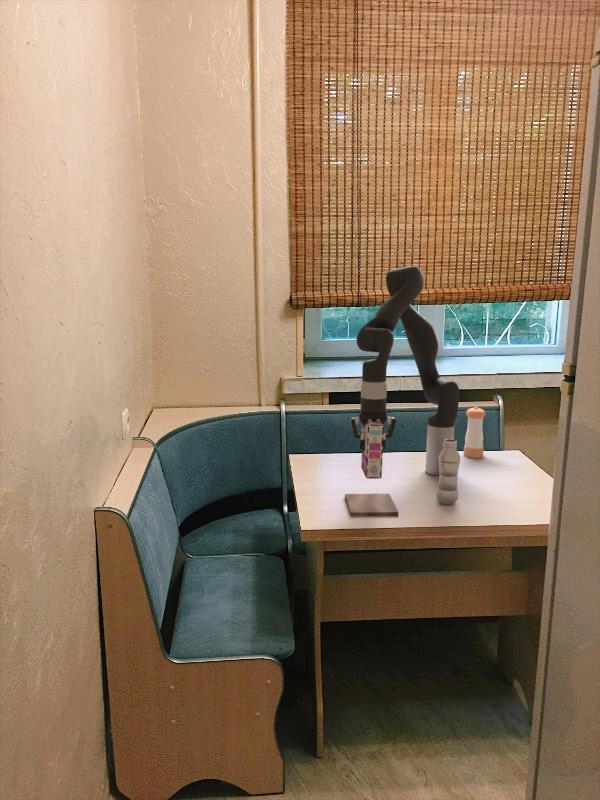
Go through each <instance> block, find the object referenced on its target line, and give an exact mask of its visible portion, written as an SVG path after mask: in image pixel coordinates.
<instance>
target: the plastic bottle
mask: <svg viewBox="0 0 600 800" xmlns="http://www.w3.org/2000/svg"><path fill="white" fill-rule="evenodd" d="M443 446H444V449H443V450H442V451H441V453H440V454H439V473H440V474H439V476H438V477H439V478H438V479H439V480H438V486H437V490H436V493H435V494H436V495H435V497H436V500H437V502H438V503H440V504H443V505H454V504H456V503H457V501H458V499H459V490H458V474H459V469H460V468H459V467H460V463H461V454H460V453H459V451H458V450H457V440H455V439H454V440H453V439H446V440H444V445H443Z"/></svg>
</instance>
